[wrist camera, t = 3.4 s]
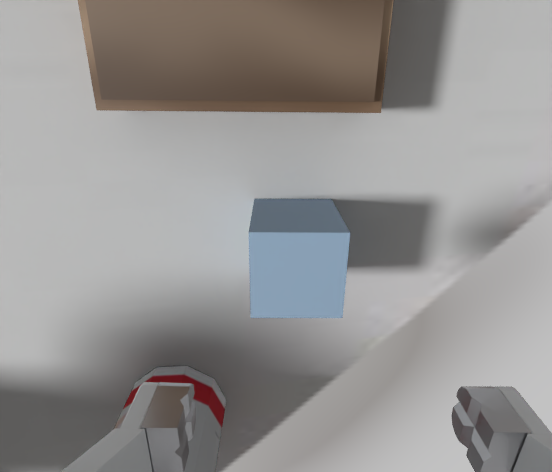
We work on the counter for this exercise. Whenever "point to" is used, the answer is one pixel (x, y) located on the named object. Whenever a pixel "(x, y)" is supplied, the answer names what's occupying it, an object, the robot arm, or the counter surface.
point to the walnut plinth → (237, 54)
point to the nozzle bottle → (207, 413)
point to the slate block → (297, 259)
